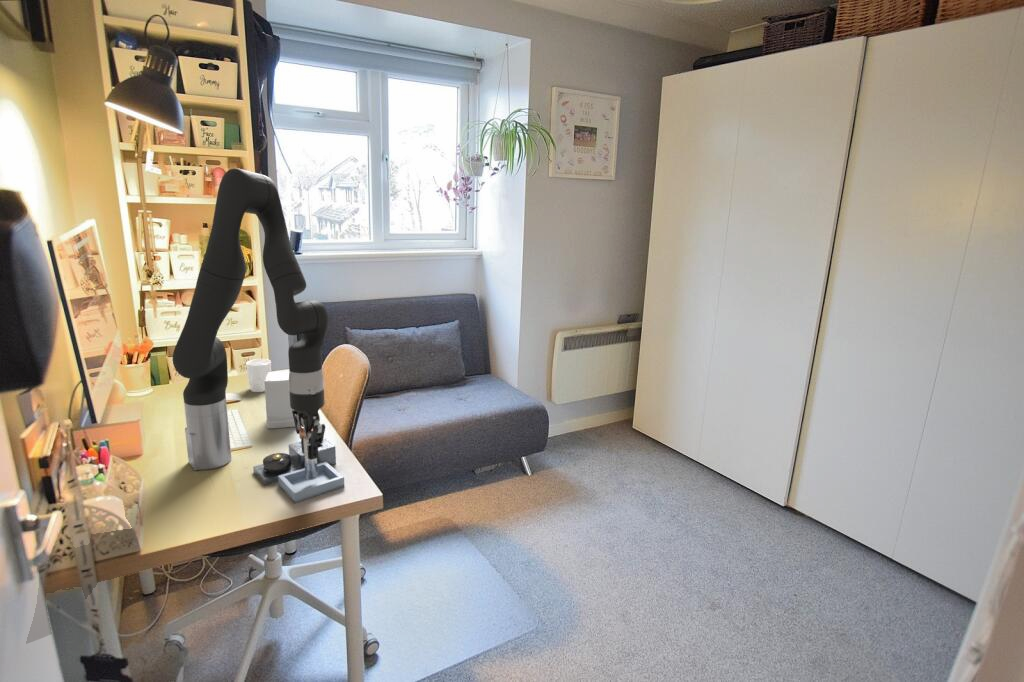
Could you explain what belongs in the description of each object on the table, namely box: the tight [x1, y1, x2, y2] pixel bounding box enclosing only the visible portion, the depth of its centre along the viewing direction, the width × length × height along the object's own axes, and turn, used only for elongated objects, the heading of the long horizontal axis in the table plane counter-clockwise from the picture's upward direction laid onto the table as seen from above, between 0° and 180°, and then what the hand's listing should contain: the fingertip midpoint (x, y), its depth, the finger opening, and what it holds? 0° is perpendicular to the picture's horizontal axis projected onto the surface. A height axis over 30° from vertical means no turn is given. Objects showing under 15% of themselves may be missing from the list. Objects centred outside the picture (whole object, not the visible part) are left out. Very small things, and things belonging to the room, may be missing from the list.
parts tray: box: [277, 462, 345, 504], centre depth 132 cm, size 12×10×2 cm
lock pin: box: [301, 430, 318, 480], centre depth 131 cm, size 4×4×12 cm
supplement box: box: [264, 371, 296, 429], centre depth 166 cm, size 9×9×15 cm
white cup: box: [245, 358, 272, 393], centre depth 192 cm, size 8×8×10 cm
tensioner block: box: [253, 436, 337, 486], centre depth 140 cm, size 18×8×5 cm, turn 132°
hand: (310, 455), depth 131 cm, fingers open, 3 cm apart
